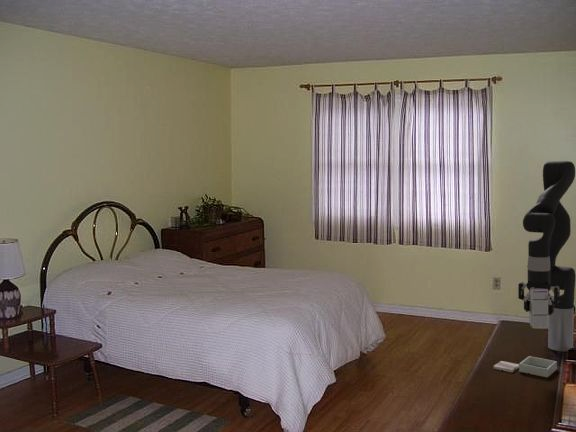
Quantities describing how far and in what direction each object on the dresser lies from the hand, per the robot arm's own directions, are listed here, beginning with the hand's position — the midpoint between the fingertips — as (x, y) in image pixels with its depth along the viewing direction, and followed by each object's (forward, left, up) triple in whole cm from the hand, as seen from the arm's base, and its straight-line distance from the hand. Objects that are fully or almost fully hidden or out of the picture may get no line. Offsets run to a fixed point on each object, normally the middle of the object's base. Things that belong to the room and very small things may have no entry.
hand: (538, 312), depth 220 cm
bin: (0, 0, -21) cm, 21 cm away
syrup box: (0, 0, -5) cm, 5 cm away
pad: (+4, -10, -21) cm, 24 cm away
